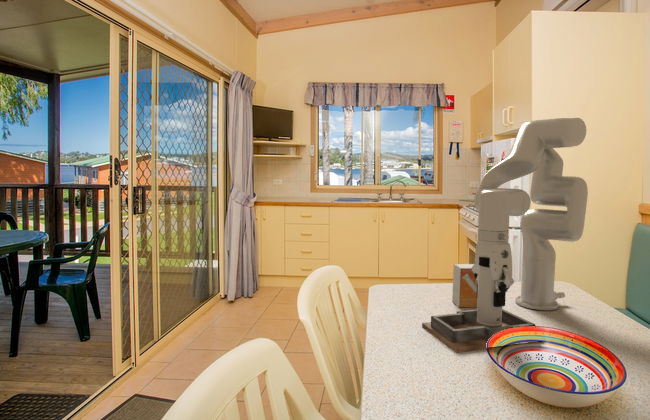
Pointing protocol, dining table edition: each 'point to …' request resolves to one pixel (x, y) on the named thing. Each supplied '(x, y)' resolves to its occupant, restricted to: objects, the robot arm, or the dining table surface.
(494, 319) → the travel mug
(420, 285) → the dining table surface
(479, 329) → the keyhole cradle
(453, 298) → the small box
